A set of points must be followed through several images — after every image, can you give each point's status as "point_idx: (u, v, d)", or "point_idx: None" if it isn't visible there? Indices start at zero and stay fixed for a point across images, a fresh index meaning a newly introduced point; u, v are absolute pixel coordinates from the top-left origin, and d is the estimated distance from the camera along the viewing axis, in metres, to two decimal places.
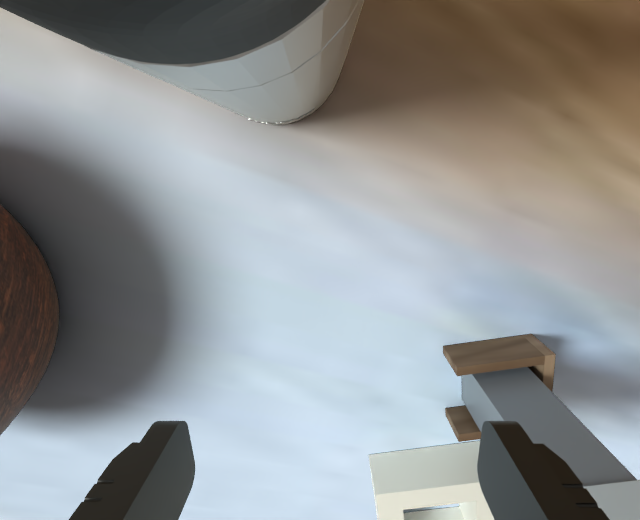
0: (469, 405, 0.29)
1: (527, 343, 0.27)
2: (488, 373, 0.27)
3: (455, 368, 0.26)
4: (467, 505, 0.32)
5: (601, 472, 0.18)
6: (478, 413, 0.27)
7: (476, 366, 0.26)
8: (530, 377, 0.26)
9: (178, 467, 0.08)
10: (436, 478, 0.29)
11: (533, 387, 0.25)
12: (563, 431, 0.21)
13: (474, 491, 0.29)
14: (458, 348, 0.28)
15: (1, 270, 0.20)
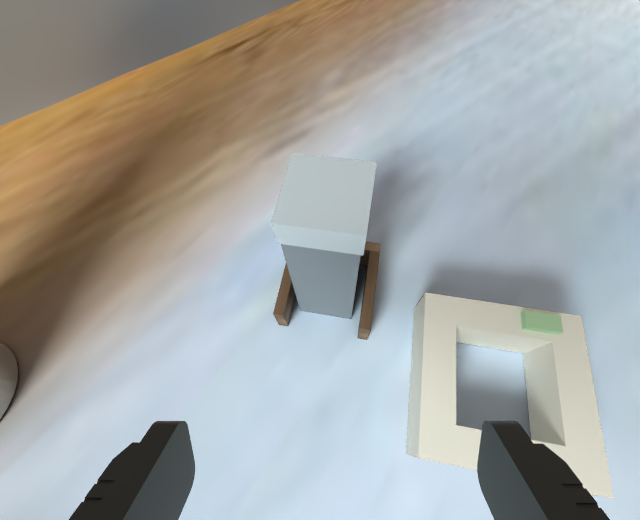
0: (342, 311, 0.27)
1: None
2: None
3: (277, 315, 0.26)
4: (493, 340, 0.25)
5: None
6: (333, 303, 0.26)
7: (279, 296, 0.27)
8: None
9: (178, 467, 0.08)
10: (419, 367, 0.23)
11: None
12: None
13: (438, 325, 0.24)
14: None
15: None
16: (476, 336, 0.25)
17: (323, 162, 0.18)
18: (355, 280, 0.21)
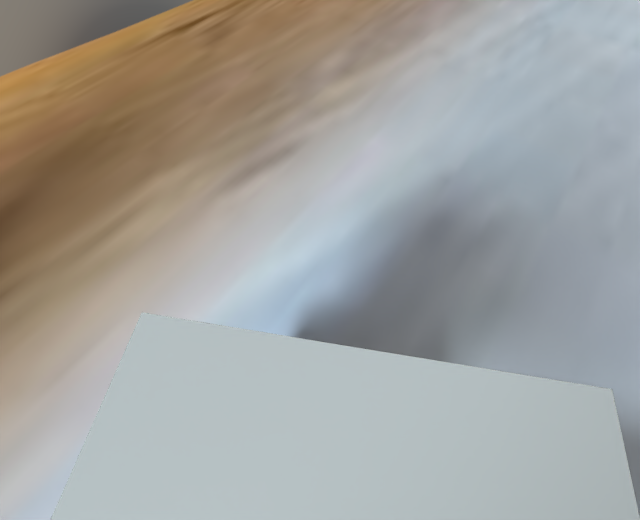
0: None
1: None
2: None
3: None
4: None
5: None
6: None
7: None
8: None
9: None
10: None
11: None
12: None
13: None
14: None
15: None
16: None
17: (300, 383, 0.03)
18: None
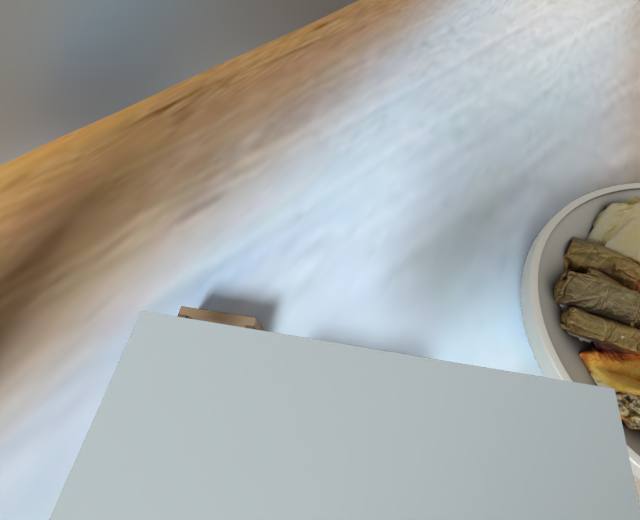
0: None
1: None
2: None
3: None
4: None
5: None
6: None
7: None
8: None
9: None
10: None
11: None
12: None
13: None
14: None
15: None
16: None
17: (300, 381, 0.03)
18: None
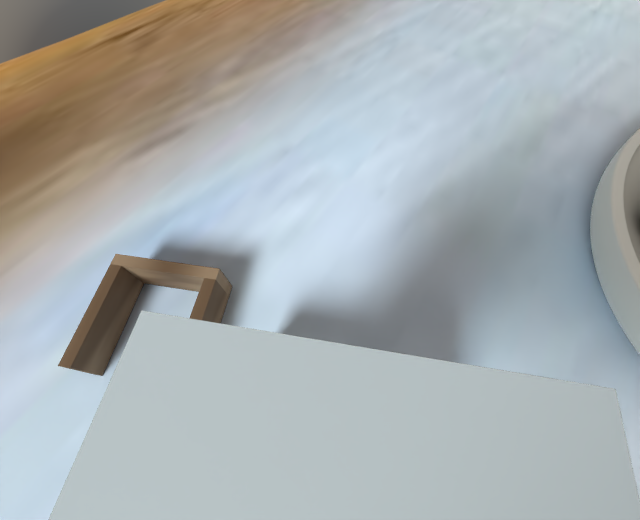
0: None
1: None
2: None
3: (66, 367, 0.20)
4: None
5: None
6: None
7: (73, 340, 0.20)
8: None
9: None
10: None
11: None
12: None
13: None
14: None
15: None
16: None
17: (300, 381, 0.03)
18: None
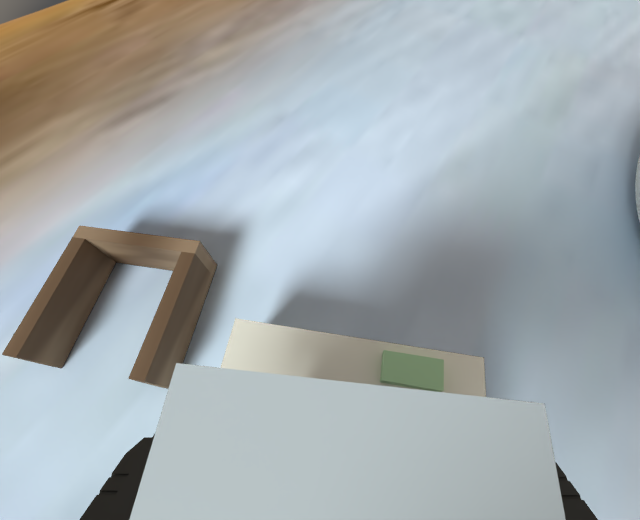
0: None
1: None
2: None
3: None
4: None
5: None
6: None
7: (23, 325, 0.17)
8: None
9: None
10: None
11: None
12: None
13: None
14: None
15: None
16: None
17: (309, 414, 0.04)
18: None
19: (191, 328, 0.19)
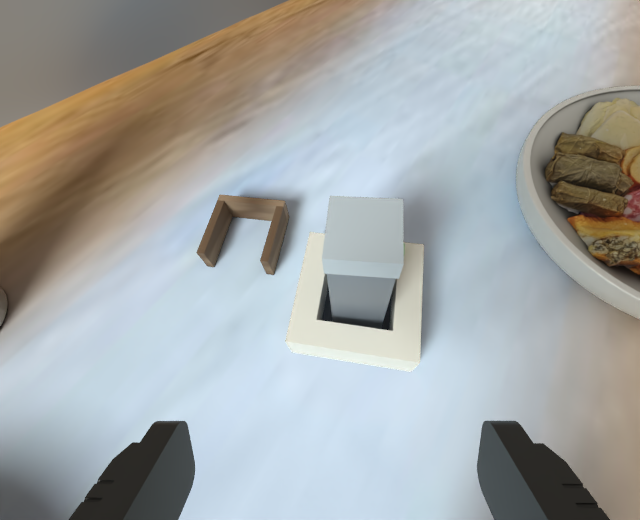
0: (373, 324, 0.30)
1: None
2: None
3: (200, 254, 0.34)
4: None
5: None
6: (366, 318, 0.29)
7: (203, 240, 0.35)
8: None
9: (178, 467, 0.08)
10: None
11: None
12: None
13: (315, 254, 0.32)
14: None
15: None
16: None
17: (358, 202, 0.22)
18: (388, 298, 0.24)
19: (280, 246, 0.36)
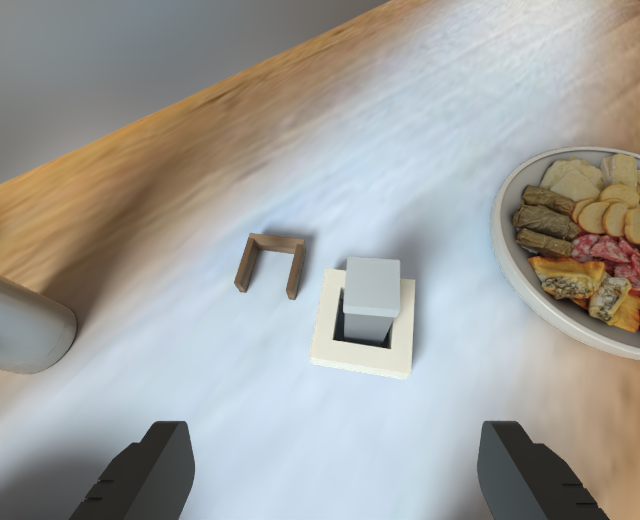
0: (375, 343, 0.39)
1: None
2: None
3: (237, 284, 0.42)
4: None
5: None
6: (370, 338, 0.38)
7: (238, 272, 0.43)
8: None
9: (178, 467, 0.08)
10: None
11: None
12: None
13: (330, 286, 0.40)
14: None
15: None
16: None
17: (367, 262, 0.30)
18: (388, 327, 0.33)
19: (299, 276, 0.45)
